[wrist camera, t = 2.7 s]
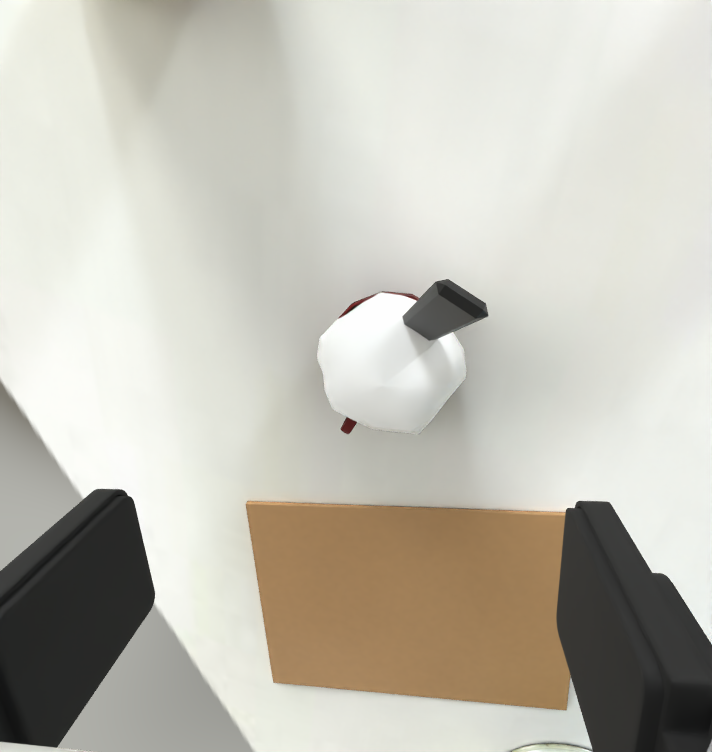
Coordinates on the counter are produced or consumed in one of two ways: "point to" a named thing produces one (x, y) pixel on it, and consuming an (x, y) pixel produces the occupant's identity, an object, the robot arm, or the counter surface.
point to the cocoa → (397, 357)
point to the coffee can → (551, 748)
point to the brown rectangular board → (413, 600)
